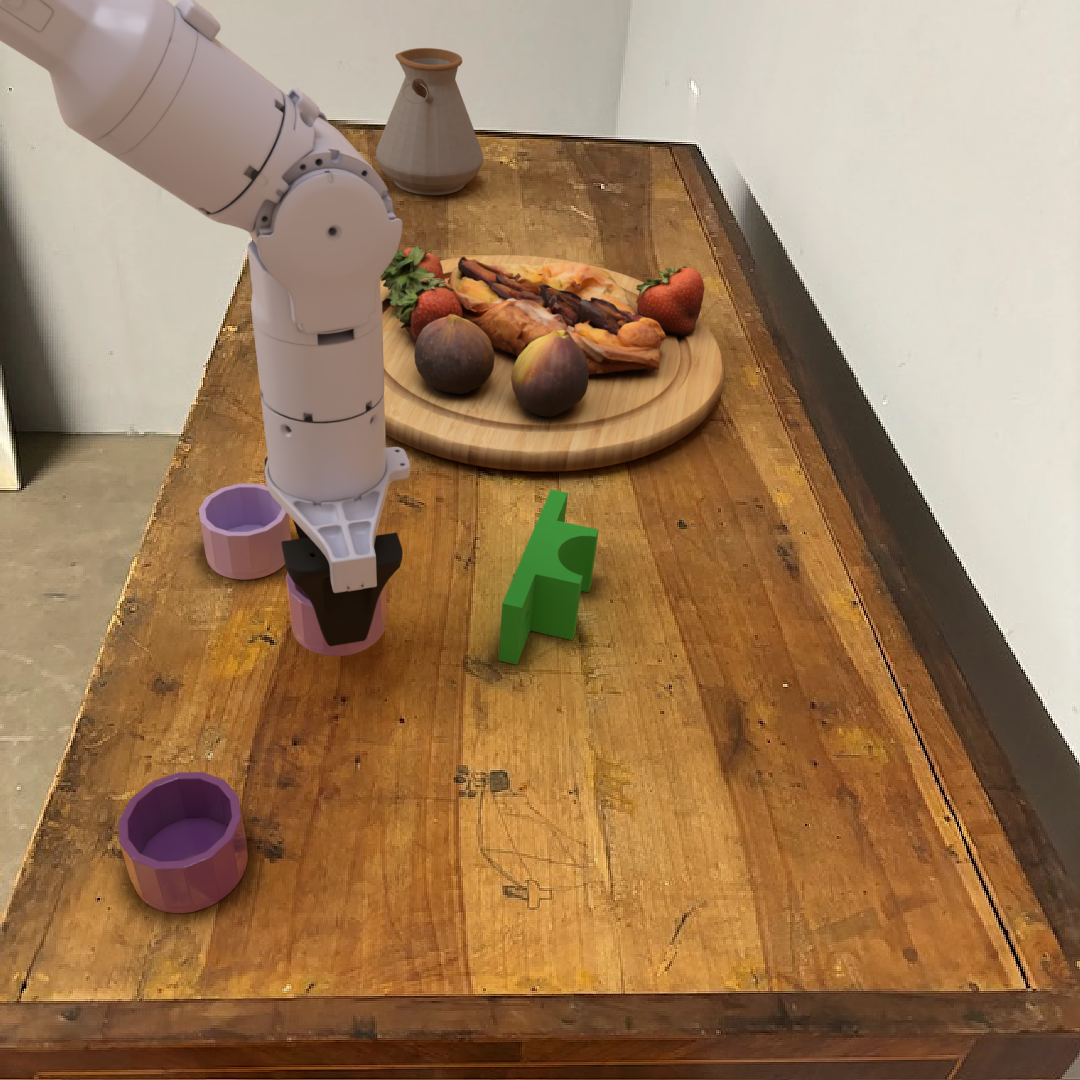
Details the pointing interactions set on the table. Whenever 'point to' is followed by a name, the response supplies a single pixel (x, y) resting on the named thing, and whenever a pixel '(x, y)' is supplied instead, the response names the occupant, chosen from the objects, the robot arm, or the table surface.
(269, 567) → the lavender dish
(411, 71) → the coffee pot
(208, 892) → the plum dish
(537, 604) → the pipe clamp
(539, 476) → the table surface
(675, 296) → the wooden plate
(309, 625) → the mauve dish
